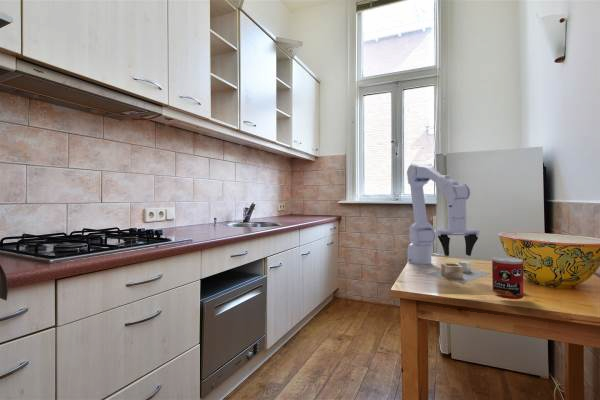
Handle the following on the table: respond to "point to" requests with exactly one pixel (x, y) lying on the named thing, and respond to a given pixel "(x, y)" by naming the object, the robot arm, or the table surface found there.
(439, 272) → the board
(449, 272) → the collar
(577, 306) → the table surface
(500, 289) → the canned food
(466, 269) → the pale grey block
